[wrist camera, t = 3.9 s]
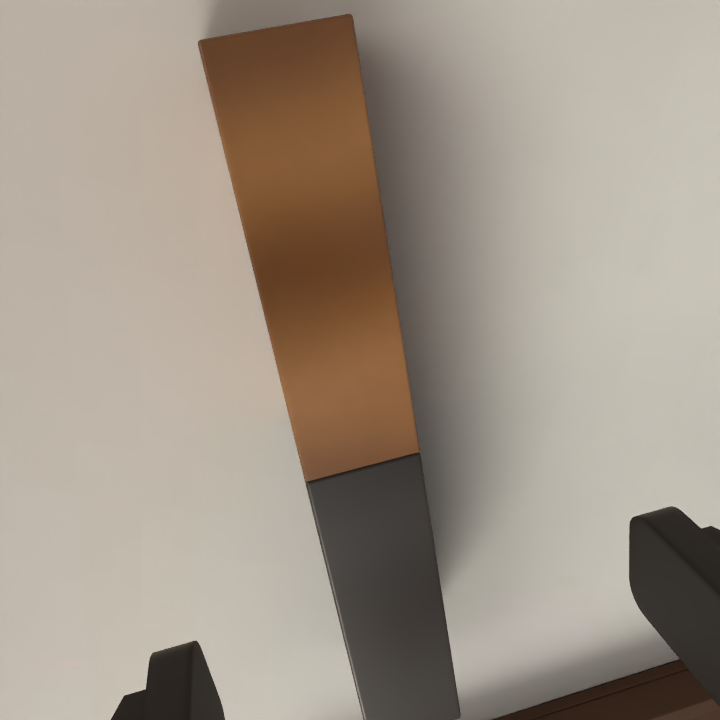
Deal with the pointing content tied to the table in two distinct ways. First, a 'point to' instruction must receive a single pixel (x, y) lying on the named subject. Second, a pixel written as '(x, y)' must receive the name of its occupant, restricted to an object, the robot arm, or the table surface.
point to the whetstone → (338, 345)
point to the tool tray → (634, 699)
